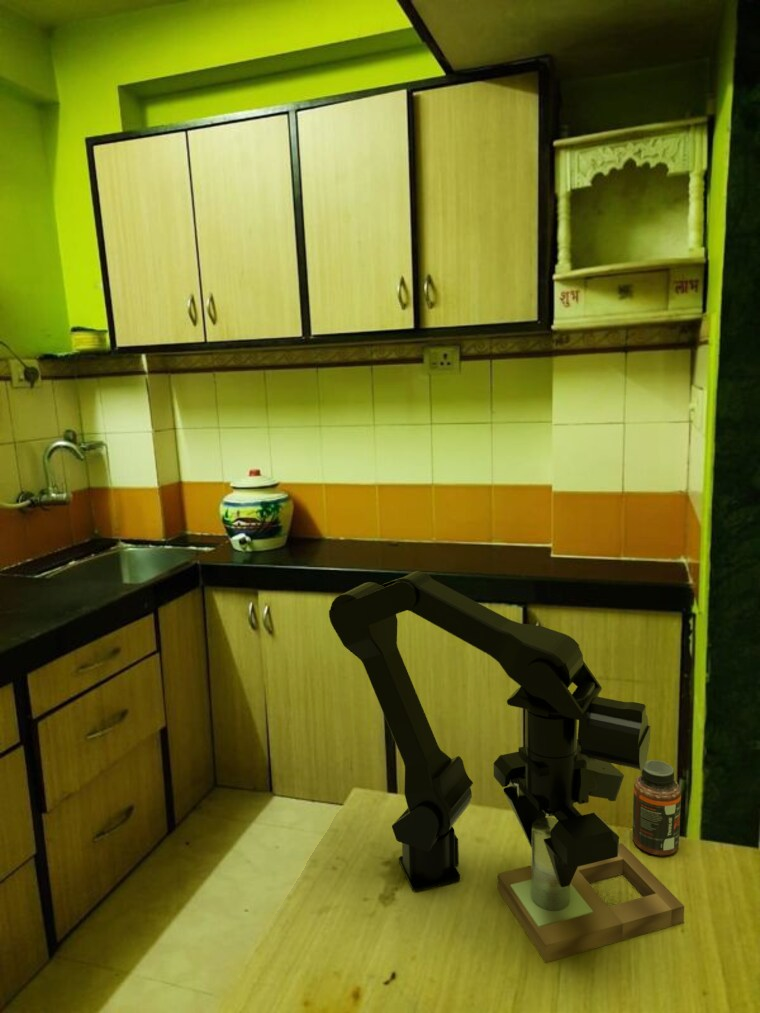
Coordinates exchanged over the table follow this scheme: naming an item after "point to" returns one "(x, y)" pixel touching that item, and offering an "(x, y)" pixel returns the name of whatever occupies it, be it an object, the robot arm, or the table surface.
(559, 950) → the pocket block
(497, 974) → the table surface
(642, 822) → the supplement bottle
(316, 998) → the table surface
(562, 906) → the clear glass jar
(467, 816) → the table surface
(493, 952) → the table surface
